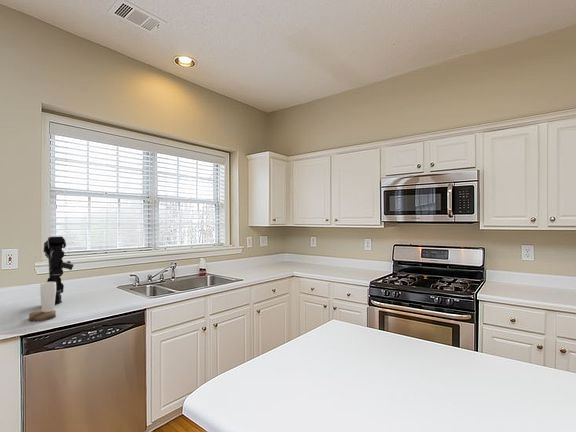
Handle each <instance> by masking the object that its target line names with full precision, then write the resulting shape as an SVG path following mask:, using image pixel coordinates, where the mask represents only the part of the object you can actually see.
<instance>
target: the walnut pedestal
mask: <svg viewBox="0 0 576 432" xmlns="http://www.w3.org/2000/svg"><path fill="white" fill-rule="evenodd" d="M56 312H57V311H56V310H55V309H54V311H52V312H47V313H44V312H42V309H41V310H40V309H39V310H34V311H32V312H30V313H29V314H28V321H29V322H34V323H35V322H44V321H49V320H51V319H55V318H56Z"/></svg>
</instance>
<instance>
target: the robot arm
mask: <svg viewBox="0 0 576 432" xmlns="http://www.w3.org/2000/svg"><path fill="white" fill-rule="evenodd" d="M66 247H67V241H66V239H65V238H64V237H63V236H49V237H47V240H46V241H44V243H43V253H44V254H45V255H44V256H45V257H46V258H47V260H48V261H47V262H48V278H47V280H46V282H56V297H55V306H56V305H58V304H61V303H62V302H63V301H62V295H61V294H63V293H64V288H65V285H64V284H63V282H62V279H61V277H62V276H63V274H64V269H67V270H70V271H72V269H73V268H74V264H73V263H71V261H70V260H68V261H67V260H66V261H64V260H63V258H64V256H65V252H64V250H63V249H66Z"/></svg>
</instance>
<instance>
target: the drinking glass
mask: <svg viewBox="0 0 576 432" xmlns="http://www.w3.org/2000/svg"><path fill="white" fill-rule="evenodd" d="M39 287H40V288H39V290H40V291H39V293H40V304H41V310H42V312H44V313H47V312H52V311H54V310H55V307H56V305H55V297H56V282H47V281H46V282H45V281H44V282H41V283H40V285H39Z"/></svg>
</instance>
